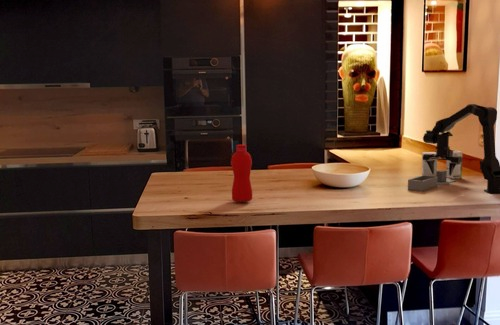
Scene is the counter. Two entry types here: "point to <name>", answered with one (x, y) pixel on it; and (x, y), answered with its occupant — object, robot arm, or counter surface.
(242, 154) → the water bottle
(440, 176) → the lid
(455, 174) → the syrup box
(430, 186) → the tub
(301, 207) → the counter surface
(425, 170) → the supplement box
